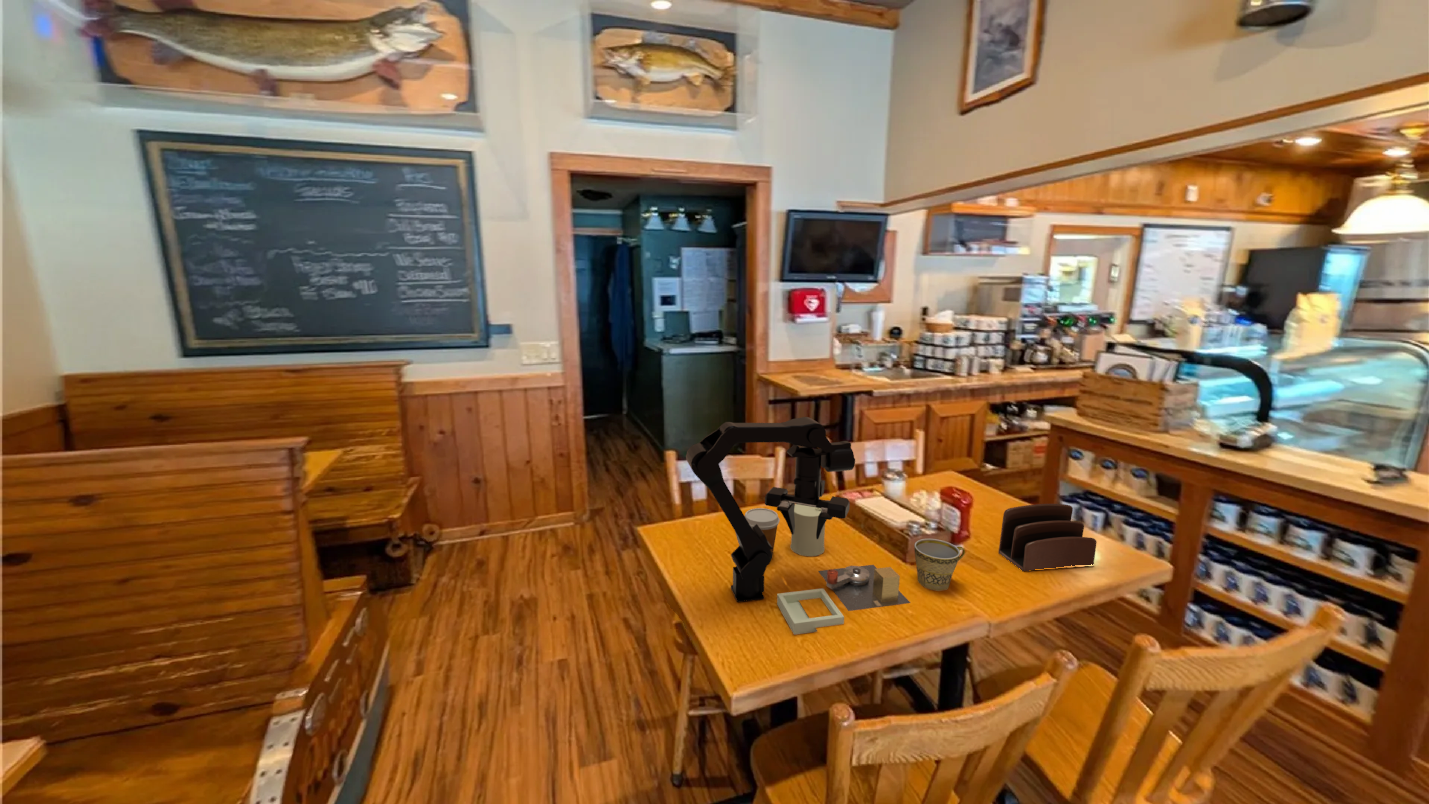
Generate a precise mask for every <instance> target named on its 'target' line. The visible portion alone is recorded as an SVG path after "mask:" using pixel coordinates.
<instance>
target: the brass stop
mask: <svg viewBox="0 0 1429 804" xmlns="http://www.w3.org/2000/svg"><path fill="white" fill-rule="evenodd" d="M876 568H877V569H874V583H873V593H874V594H875V595H876V597H877V598H878V599H879V600H880V601H881V602H887V601H895V600H898V591H900V590H899V587H900V579H901V578H900V574H899V573H897V572H896V571H895V570H894V569H893V568H892V567H891V566H888V567H887V566H886V567H879V568H878V567H876Z"/></svg>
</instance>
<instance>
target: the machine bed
mask: <svg viewBox="0 0 1429 804" xmlns="http://www.w3.org/2000/svg"><path fill="white" fill-rule="evenodd" d="M858 566H859V565H858ZM859 567H863V568H865V569H866V570H868V571H869V580H868V581H867V582H866V583H853V582H848V583H845V584H843V585H840V586H838V587H835V588H833V589H831V590H832V591H833V592H834V594H835V595H836V597H837V598H838V599H839V601H840V602H841V603H842V605H843V606H844V608H845V609H846V610H847V611H848V612H851V611H859V610H867V609H874V608H882V607H889V606H896V605H905V604H911V601H910V600H909V599H908V598H907V597H906V596H905V595H903V593H902V592H901V591H900V590H899V591H898V600H895V601H887V602H881V601H880V600H879V599H878V598H877V597H876V595H875V594H874V593H873V583H874V569H877V568H878V567H876V566H875V565H874V564H867V565H866V564H865V565H861V566H859ZM845 568H846V567H841V568H833V569H834V570H836V571H838V577H839V576H842V575H844V569H845ZM828 570H829V569H822V570H818V573H819V575H820V576H821V577H822V578H823V580H824V581H825V582H826V583H827V571H828Z"/></svg>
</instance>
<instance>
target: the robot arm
mask: <svg viewBox="0 0 1429 804" xmlns="http://www.w3.org/2000/svg"><path fill="white" fill-rule="evenodd" d="M739 443H740V444H741V443H744V444H745V443H750V444H752V443H753V444H754V443H787V444H792V446H791V447H789V448H788V449H787V450H786V453H787V454H788V455H789V456H791V457H792V458H795V466H794V468H795V469H794V470H795V471H794V480H793V485H794V494H790V493H789V491H788V490H789V489H787V488H782V487H776V486H773V487H772V488H770V489H769V490H768V491H767V493H766V494H765V496H764V506H767V507H774V508H776V511H777V512H780V513H781V514H782V517H783V519H784V520H785V522H786V524H787V527H788V530H789V531H790V534H791V535H792V534H794V532H795V517H794V507H795V504H799V505H805V506H811V507H817V508H821V510H822V511H821V513H820V514H819V516H818V524H817V532H816V539H819V537H820V534H821V532H822V529H823V527H824V524H825V525H826V522H827V520H830V521H831V520H832V519H834V518H837V519H841V520H842V519H845V518H846V517H847V515H848V513H849V511H850V505H851V504H850V503H851V502H850V501H849V499H848V498H847V497H846V498H845V497H840V496H839V497H838V496H831V497H830V500H829V499H828V500H827V499H822V497H823V494H824V492H825V484H826V481H825V480H822V473H821V472H822V471H821V469H824V470H825V471H826V472H827V473H833V472H834V473H836V472H845V471H846V472H847V471H852V470H853V469H854V468H855V465H856V458H855V454H854V450H853V449H852V443H851V441H848V440H841V441H838V442H837V441H836V442H831V441H830V440H829V439H828V437H827V430H826V428H825V427H824V425H823V424H821V423H819V422H818V421H816V420H814V419H813V418H811V417H808V416H802V417H797V418H792V419H789V420H787V421H783V422H731V421H725V422H724V423H722V424H721V425H720V426H719V427H717V429H716V430H714V431H712V432H710V433H708V434H707V435H706V436H704V437H703V438H702V439H701V440H700V441H699V442H698V443H695V444H692V445H691V446H690V447H688V449H687V451H686V455H685V459H686V462H687V464H688V465H689V467H690V469H691V470H692V473H693V474H694V475H695V476H696V477H697V478H698V480H700V482H701V483H702V484H704V485H705V487H706V488H708V489H709V491H710V492H711V494H712V495H713V497H714V499H715V501H716V502H717V504H718V505H719V507H720V509H721V510H722V512H723V513H724V515H725V517H726V518H727V520H728V522H729V523H730V525H731V527H732V528H733V530H734V532H735V535H736V539H737V542H738V547H736V548H735V549H734V550H733V552H732V553H731V554H730V557H731V559H732V561H733V563H734V564H735V566H733V567H732V585H731V586H730V589H731V591H732V593H733V594H732V595H733V596H734V598H735V600H736V602H737V603H742V602H750V601H758V600H759V601H760V600H764V599H765V595H764V592H765V575H764V574H765V572H766V570H767V567H768V565H770V563H771V562H772V560H773V556H772V552H771V549H773V548H772V546H771V545H770V543H769V542H768V541H767V539H766V537H765V535H764V533H763V532H762V530H761V529H760V527H759V526H758V525H757V524H756V525H755V526H754V527H752V526H751V525H750V524H749V523H748V521H747V520H746V518H745V513H743V511H742V509H741V508H740V506H739V504H738V503H737V501H736V499H735V498H734V496H733V495H732V493H731V490H730V488H729V487H728V486H727V484H726V483H725V481H724V477H723V473H722V469H721V466H720V463H721V462H722V461H724V459H726V457H727V455H728V454H729V452H730V451H731V450H732V448H733V447H734V446H735V445H736V444H739ZM820 498H821V499H820Z"/></svg>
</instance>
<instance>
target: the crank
mask: <svg viewBox="0 0 1429 804" xmlns="http://www.w3.org/2000/svg"><path fill="white" fill-rule="evenodd" d="M844 568H845V569H844V575H842V576H839V577H838V571H836V570H834V569H835V568H830V569H827V570H828V571H827V582H826V583H825V585H826V587H827V588H829V589H830V590H832V589H833V588H835V587H838V586H840V585H843V584H845V583H848V582H853V583H866V582H867V581H868V580H869V571H868V570H866V569H865V568H863V567H859V565H849V566H848V565H847V566H846V567H844Z"/></svg>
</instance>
